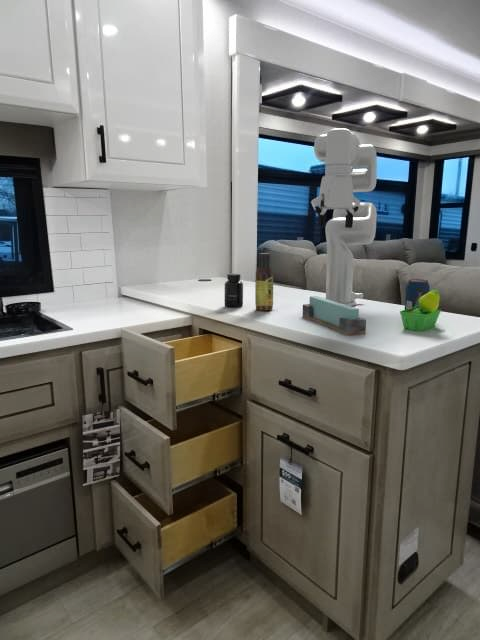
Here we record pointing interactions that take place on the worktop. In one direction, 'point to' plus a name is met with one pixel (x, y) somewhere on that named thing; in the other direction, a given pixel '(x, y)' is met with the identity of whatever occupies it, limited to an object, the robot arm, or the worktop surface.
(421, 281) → the soda can
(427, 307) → the fruit basket
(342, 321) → the endcap rail
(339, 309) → the slat
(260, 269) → the sauce bottle
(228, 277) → the supplement bottle
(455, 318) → the worktop surface
